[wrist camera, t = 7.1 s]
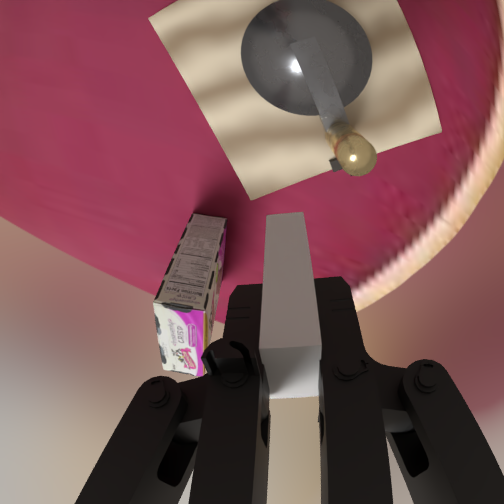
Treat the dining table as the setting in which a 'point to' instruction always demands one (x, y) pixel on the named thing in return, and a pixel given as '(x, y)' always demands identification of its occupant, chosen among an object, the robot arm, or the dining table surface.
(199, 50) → the stand
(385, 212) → the dining table surface
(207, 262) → the candy bar box
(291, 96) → the grey round handled piece
